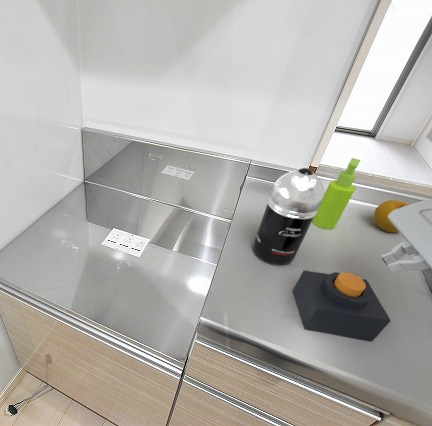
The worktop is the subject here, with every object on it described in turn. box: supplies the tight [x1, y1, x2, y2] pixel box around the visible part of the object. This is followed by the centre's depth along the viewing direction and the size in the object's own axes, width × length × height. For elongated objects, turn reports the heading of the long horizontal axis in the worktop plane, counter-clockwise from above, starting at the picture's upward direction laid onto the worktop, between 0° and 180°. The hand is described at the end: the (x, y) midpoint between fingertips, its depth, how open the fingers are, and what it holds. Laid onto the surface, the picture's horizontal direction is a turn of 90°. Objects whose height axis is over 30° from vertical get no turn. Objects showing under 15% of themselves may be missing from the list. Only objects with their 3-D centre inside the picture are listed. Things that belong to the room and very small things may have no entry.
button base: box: [292, 270, 392, 343], centre depth 60 cm, size 12×10×9 cm
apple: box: [373, 199, 410, 234], centre depth 82 cm, size 8×8×9 cm
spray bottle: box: [252, 167, 325, 266], centre depth 70 cm, size 10×10×25 cm
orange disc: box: [334, 272, 366, 297], centre depth 57 cm, size 4×4×2 cm
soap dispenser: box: [311, 157, 361, 230], centre depth 82 cm, size 6×7×20 cm
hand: (385, 264), depth 52 cm, fingers closed
